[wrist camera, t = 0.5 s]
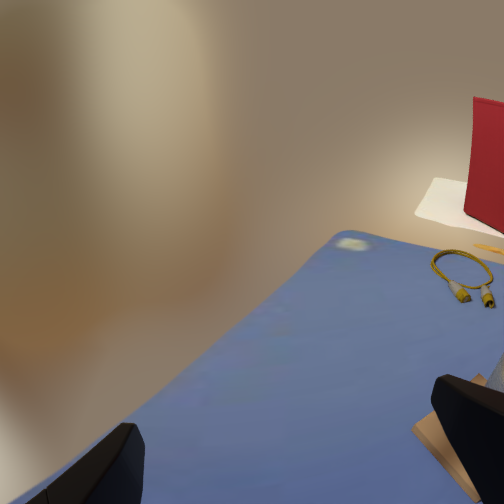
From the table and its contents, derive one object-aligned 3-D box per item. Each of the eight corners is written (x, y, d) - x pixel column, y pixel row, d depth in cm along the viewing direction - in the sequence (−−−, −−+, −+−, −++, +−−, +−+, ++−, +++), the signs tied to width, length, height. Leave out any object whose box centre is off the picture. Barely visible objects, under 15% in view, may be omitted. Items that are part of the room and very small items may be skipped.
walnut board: (533, 434, 16) (538, 428, 15) (475, 503, 13) (481, 499, 12) (475, 379, 24) (478, 373, 24) (411, 430, 21) (414, 424, 21)
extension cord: (415, 290, 40) (418, 278, 39) (438, 249, 50) (440, 239, 49) (490, 317, 32) (495, 305, 31) (496, 268, 42) (499, 258, 41)
